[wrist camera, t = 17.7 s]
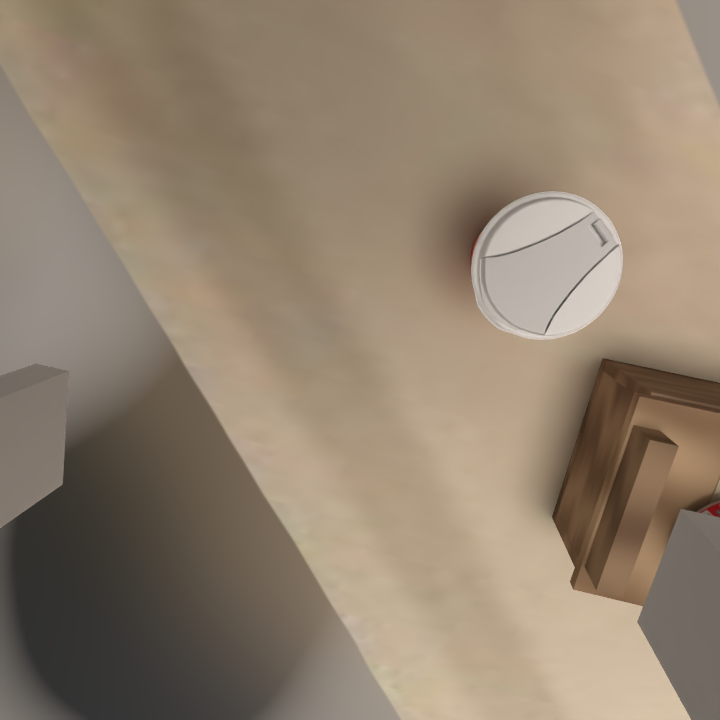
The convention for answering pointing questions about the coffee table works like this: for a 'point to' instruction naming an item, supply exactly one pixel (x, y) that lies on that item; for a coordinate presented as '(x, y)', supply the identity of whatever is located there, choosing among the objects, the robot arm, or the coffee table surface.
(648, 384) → the box
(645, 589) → the wooden box lid
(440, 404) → the coffee table surface
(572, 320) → the paper cup
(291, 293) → the coffee table surface
